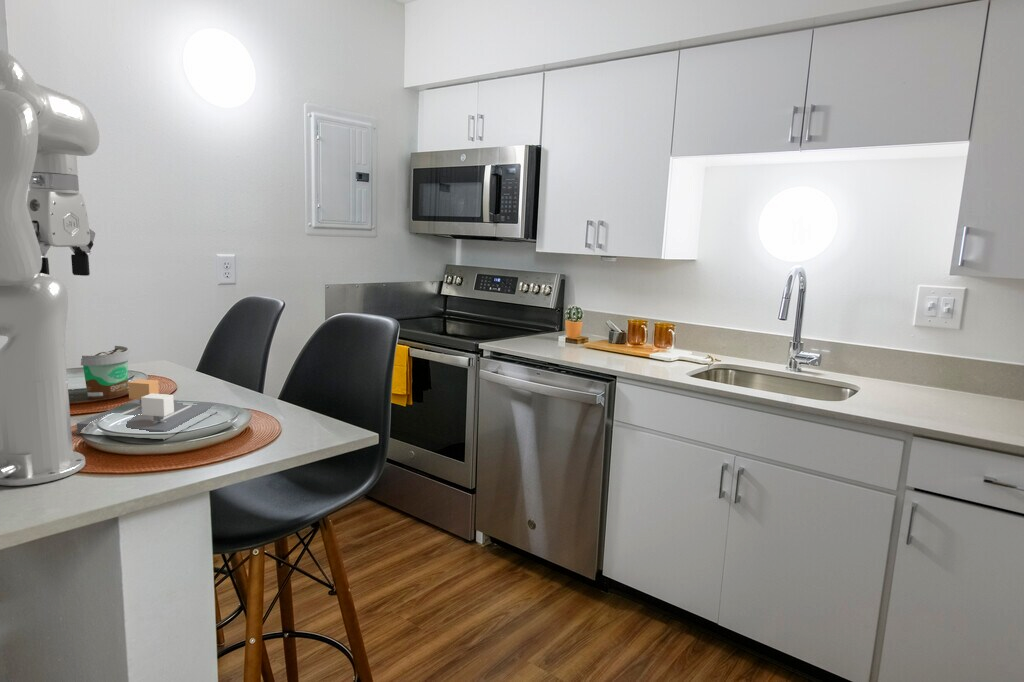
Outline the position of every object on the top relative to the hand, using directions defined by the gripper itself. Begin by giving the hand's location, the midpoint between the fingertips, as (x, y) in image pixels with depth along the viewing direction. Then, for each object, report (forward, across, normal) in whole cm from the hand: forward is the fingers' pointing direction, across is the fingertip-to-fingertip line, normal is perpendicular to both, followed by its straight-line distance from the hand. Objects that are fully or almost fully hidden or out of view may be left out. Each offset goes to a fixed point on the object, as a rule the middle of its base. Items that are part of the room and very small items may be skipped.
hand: (61, 277), depth 122 cm
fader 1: (+26, +7, -11) cm, 29 cm away
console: (+28, +2, -15) cm, 32 cm away
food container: (+28, +18, +5) cm, 34 cm away
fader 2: (+26, -2, -20) cm, 33 cm away
